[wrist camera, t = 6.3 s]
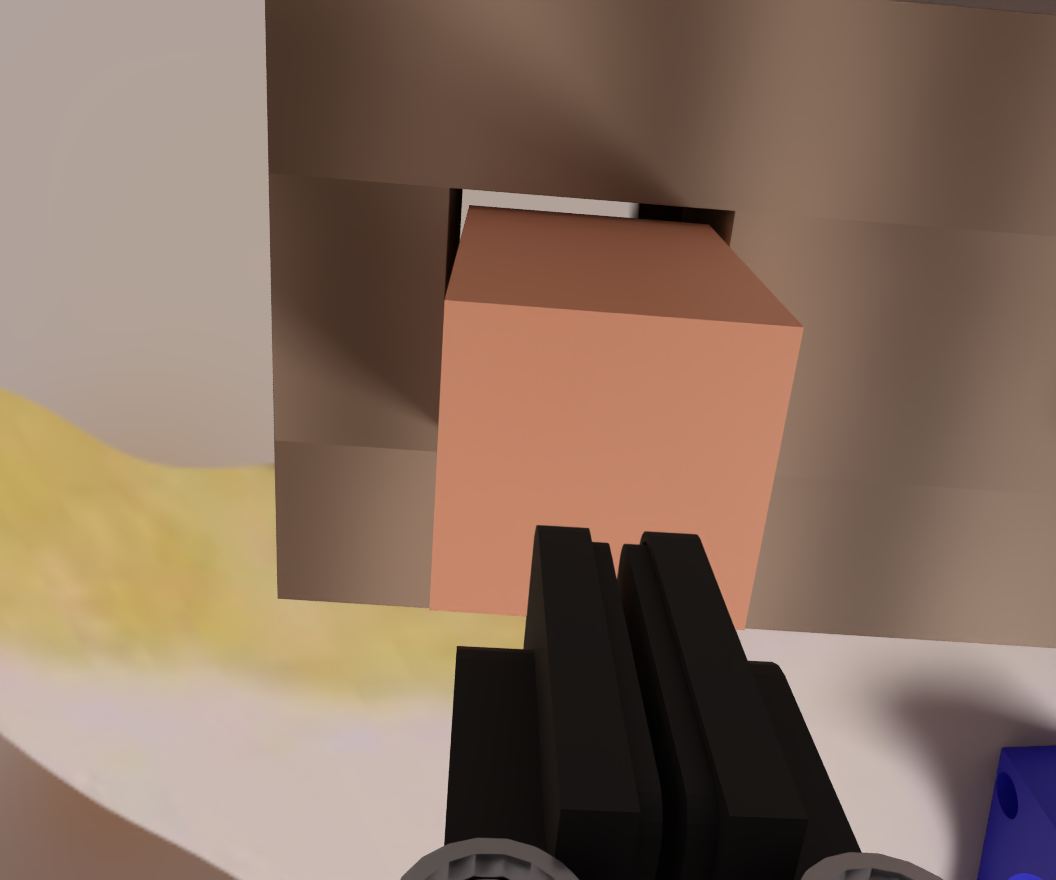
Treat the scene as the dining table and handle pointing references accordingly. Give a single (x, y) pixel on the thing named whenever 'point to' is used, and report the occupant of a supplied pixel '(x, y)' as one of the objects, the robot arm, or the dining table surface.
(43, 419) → the dining table surface
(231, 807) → the dining table surface
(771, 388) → the terracotta plunger
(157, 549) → the dining table surface
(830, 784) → the robot arm
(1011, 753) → the cable clip
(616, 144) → the button box
